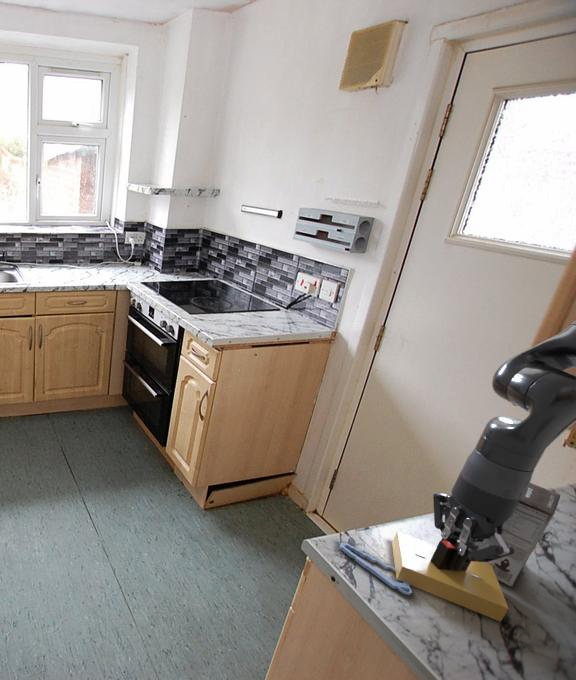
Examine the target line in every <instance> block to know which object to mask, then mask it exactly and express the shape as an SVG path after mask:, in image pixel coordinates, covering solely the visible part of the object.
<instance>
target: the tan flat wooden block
mask: <svg viewBox="0 0 576 680" xmlns="http://www.w3.org/2000/svg"><path fill="white" fill-rule="evenodd" d="M391 546H392V554H393V555H392V556H393V562H394V568H395V569H396V573H395V577H396V580H397V581H400V582H401V583H403V582H404V581H407V582H409V584H410V587H414V588H416V589H419V590H421V591H424V592H426V593H428V594H431V595H434V596H437V597H438V598H441V599H443V600H446V601H448V602H450V603H453V604H456V605H458V606H460V607H463V608H465V609H468V610H470V611H472V612H475V613H478V614H480V615H483V616H485V617H488V618H490V619H491V620H492V619H493V620H495V621H498V622H500V623H501V622H502V620H503V619H504V617H505V615H507V612H508V611H509V606H508V603H507V601H506V600H507V599H506V598H505V595H504V592H503V591H502V588H501V585H500V583H499V580H497V577H496V575H495V572H494V570H493V567H492V566H491V565H488V564H485V563H483V562H474V561H471V563H470V565H469V566H468V568H467V570H466V571H452V570H442V569H437V567H436V566H435V565H434V564H433V563H432V562H431V559H432V556H433V554H434V552H435V550H436V548H437V546H438V545H437V544H433V543H430V542H429V541H426V540H423V539H420V538H417V537H414V536H411V535H409V534H406V533H403V532H401V531H398V530H397V531H396V533H395V535H394V536H393V540H392V542H391Z"/></svg>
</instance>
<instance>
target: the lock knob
mask: <svg viewBox="0 0 576 680" xmlns="http://www.w3.org/2000/svg"><path fill="white" fill-rule="evenodd" d="M459 544H460V541H457V542H448V541H441V540H439V543H438V544H437V545H436V546H437V548H436V550H435V552H434V554H433V556H432V559H431V562H432V563H433V564H434V565H435V566H436V567H437V569H442V570H451V569H450V568H449V567H448V565H449V563H450V561H451V559H452V557H453V555H454V553H455V551H457V549H458V546H459ZM469 548H470V547H469Z"/></svg>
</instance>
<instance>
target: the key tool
mask: <svg viewBox="0 0 576 680" xmlns="http://www.w3.org/2000/svg"><path fill="white" fill-rule="evenodd" d="M339 549H340V550H341V551H342V552H343V553H344V554H346V555H347V556H349V558H351V559H353V560H354V562H356V564H359V565H360V566H361V567H363V568H364V569H366V570H367V571H368V572H370V573H371V574H372V575H374V576H375V577H377V578H378V579H379V580H381V581H382V582H384V584H386V585H387V586H389V588H391V589H394V590H398V591H399V592H400V593H401V594H403V595H405V596H411V595H412V593H413V590H412V588H411V585H410V584H409V582H407V581H404V582H397V581H393V580H392V579H391V578H390V577H388V576H386V575H385V574H384V573H382V572H381V571H380V570H378V569H376V568H375V567H374V566H372V565H371V564H369V563H368V562H367V561H365V560H364V558H365V559H367V560H368V561H370V562H371V563H374V564H375V563H376V564H377V565H378V566H380V567H381V568H383V569H384V570H391V571H392V572H393V573H394V574H396V569H395V566H393V565H389V564H386V563H383V562H382V561H381V560H379V559H378V558H377V557H372V556H371V555H369V554H368V553H367V552H363V551H361V550H359V549H358V548H356V547H355V546H353V545H351V544H350V543H348V542H342V541H341V542H340V545H339ZM359 556H360V557H359Z"/></svg>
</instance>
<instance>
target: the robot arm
mask: <svg viewBox="0 0 576 680" xmlns="http://www.w3.org/2000/svg"><path fill="white" fill-rule="evenodd" d="M574 368H576V319H575V320H574V321H573V322H572V323H570V324H569V325H568V326H567V327H565V328H564V330H562V331H561V332H559V333H557V334H556V335H554V336H551V337H549V338H547V339H544V340H543V341H541V342H540V343H537V344H535V345H534V346H531V347H529V348H527V349H525V350H523V351H521V352H520V353H517V354H515V355H514V356H512V357H510V358H509V359H507V360H505V361H504V362H503V363H502V364H501V365H500V366H499V367H498V368H497V369H496V371H495V372H494V374H493V375H492V379H491V387H492V390H493V391H494V393H495V394H496V395H497V396H498V397H500V398H501V399H502V400H505V401H507V402H509V403H511V404H513V405H515V406H516V407H518V408H520V409H522V410H523V411H527V412H528V415H527V416H526V418H525V419H523V420H521V419H519V418H515V417H510V416H494V417H493V418H490V419H489V421H487V423H486V424H485V426H484V428H483V430H482V432H481V434H480V436H479V438H478V440H477V442H476V444H475V447H474V448H473V449H472V451H471V453H470V454H469V455H468V456H467V458H466V459H465V463H463V466H462V468H461V470H460V472H459V475H458V476H457V478H456V480H455V483H454V484H453V487H452V488H451V494H448V493H433V495H432V496H433V499H432V501H433V519H434V520H433V521H434V527H435V529H437V530H439V531H440V532H441V533H440V536H441V539H440V541H448V542H458V541H459V542H460V544H459V546H458V549H457V551H455V553H454V555H453V557H452V559H451V561H450V563H449V565H448V567H449V568H450V569H451V570H452V571H466V570H467V568H468V566H469V565H470V563H471V561H474V562H490V561H493V560H496V559H499V558H502V557H505V556H508V555H512V554H514V549H513V547H511V546H506V544H505V542H504V541H503V539H502V537H501V535H502V533H503V524H504V522H506V521H507V520H508V519H509V518H510V517H511V516H512V514H513V512H514V510H515V509H516V507H517V505H518V503H519V502H520V500H521V498H522V496H523V494H524V493H525V491H526V489H527V487H528V485H529V483H531V480H532V479H533V478H532V477H533V475H534V472H535V469H536V468H537V466H538V465H539V462H540V460H541V459H542V457H543V456H544V454H545V452H546V450H547V449H548V448H549V446H550V445H552V443H553V442H555V441H556V440H557V439H559V437H560V436H561V435H562V434H563V433H565V431H567V430H568V429H569V428H570V427H572V426H573V425H574V424H575V423H576V375H574V374H573V373H569V372H567V371H566V370H569V369H574ZM443 516H444V517H443ZM443 518H444V519H443ZM488 538H491V541H490V542H489V543H488V544H486V541H487V539H488ZM485 544H486V546H487V547H486V548H483V549H480V548H481V547H482V546H484V545H485ZM469 547H470V548H469Z"/></svg>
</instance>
